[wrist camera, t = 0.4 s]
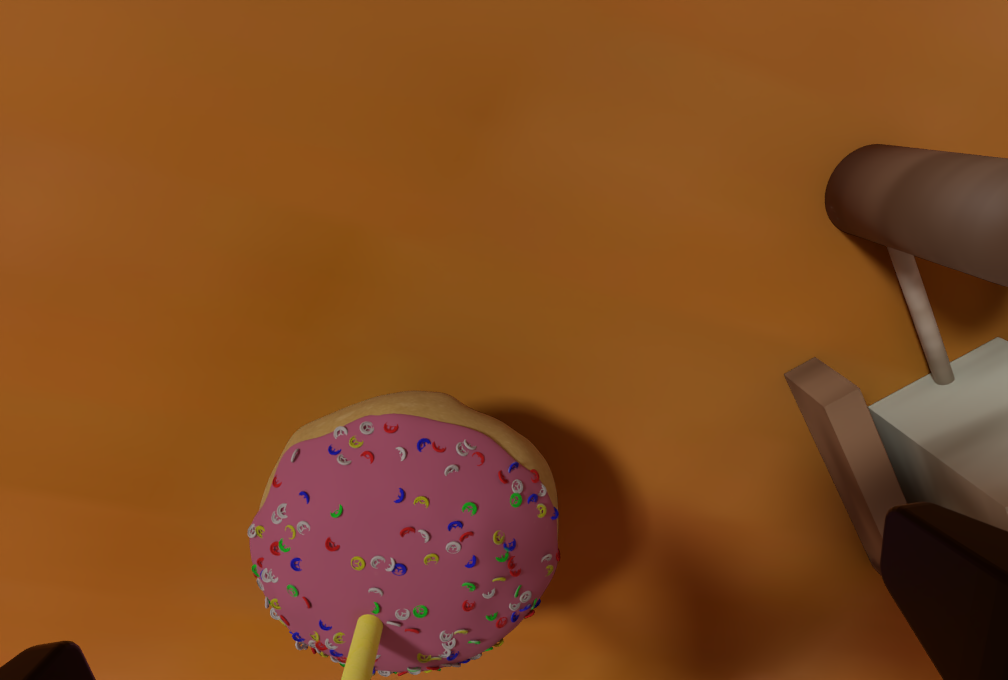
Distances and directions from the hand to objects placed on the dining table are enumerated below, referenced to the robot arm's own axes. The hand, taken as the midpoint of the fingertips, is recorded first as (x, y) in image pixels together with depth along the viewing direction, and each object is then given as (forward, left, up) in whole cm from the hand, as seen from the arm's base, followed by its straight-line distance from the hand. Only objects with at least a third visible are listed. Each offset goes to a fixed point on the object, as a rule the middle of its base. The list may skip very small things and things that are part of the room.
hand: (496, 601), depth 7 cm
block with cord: (-10, -12, -14) cm, 21 cm away
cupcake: (-4, +5, -14) cm, 15 cm away
